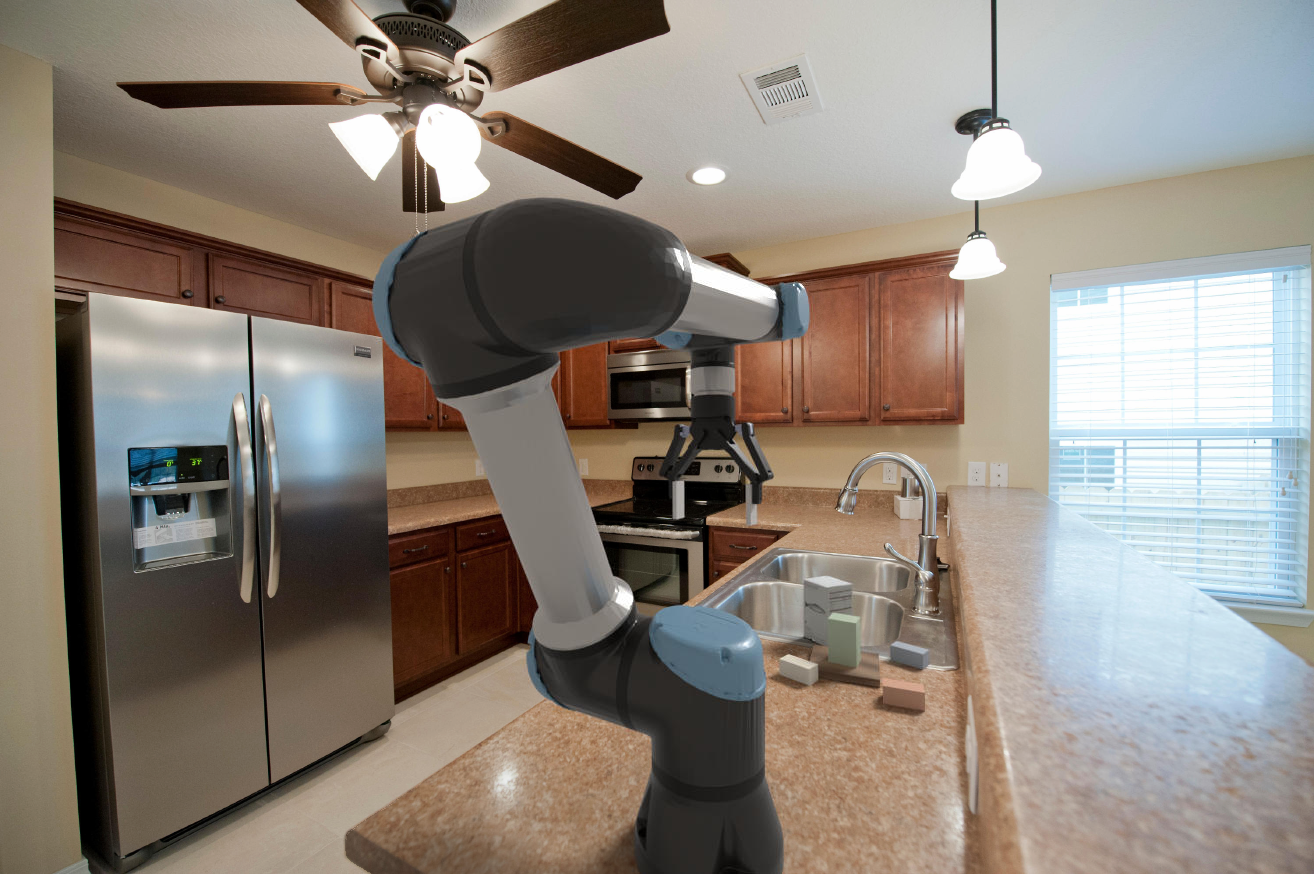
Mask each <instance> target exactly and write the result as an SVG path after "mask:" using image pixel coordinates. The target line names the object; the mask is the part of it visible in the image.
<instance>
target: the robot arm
mask: <svg viewBox="0 0 1314 874" xmlns="http://www.w3.org/2000/svg"><path fill="white" fill-rule="evenodd" d="M371 298H372V300H371V302H372V312H373V314H374V315H373V316H374V321H375V323H376V326H377V329H378V331H379V333H380V335H381V337H382V339H383V340H384V342H385V343H386V345H387V346H388V347H389V349H390V350H391V351H392V352H393V353H394V354H395V355H396V356H398V358H401V359H403V360H405V361H406V362H408V363H409V364H410V365H412V366H414V367H417V368H419V369H422V370H424V371H425V375H426V376H427V379H428V381H429V384H430V386H431V389H432V391H433V394H434V396H435V398H436V401H438V402H439V403H442V404H444V405H447V406H449V407H452V408H453V409H454V410H455V409H456V410H457V411H459V412H460V413H461V415H462V418H463V420H464V423H465V425H466V429H467V430H468V433H469V435H470V438H471V441H472V443H473V445H474V448H475V451H476V452H477V455H478V458H479V460H480V463H481V466H482V468H483V470H484V472H485V475H486V478H487V480H488V483H489V486H490V488H491V491H492V492H493V496H494V497H495V501H496V503H497V506H498V508H499V510H500V513H501V516H502V518H503V520H504V521H503V522H504V523H505V525H506V529H507V530H508V533H509V536H510V538H511V541H512V544H513V546H514V548H515V550H516V553H517V555H518V558H519V560H520V564H521V565H522V568H523V571H524V573H525V575H526V578H527V581H528V583H529V586H530V589H531V591H532V593H533V596H534V598H535V600H536V603H537V607H538V608H537V610H536V611H535V613H534V616H533V620H532V627H531V630H530V631H529V635H528V640H527V644H528V645H530V649H529V650H528V651H526V655H525V656H526V659H525V660H526V668H527V671H528V675H529V679H530V681H531V683H532V684H533V686H534V688H535V689H536V691H537V692H538V693H539V694H540V695H541V696H542V697H544V698H546V699H547V700H548V701H550V702H552V703H554V704H555V705H557V707H558V706H559V707H561V708H562V709H564V710H568V711H572V712H578V713H579V714H583V715H587V716H589V717H592V718H595V719H599V720H601V721H605V722H607V723H611V724H613V725H616V726H620V727H622V728H626V729H629V730H631V731H634V732H638V733H640V734H643V735H646V736H648V737H649V738H650V739H651V741H650V743H651V745H650V748H651V749H650V750H651V751H650V752H651V767H650V768H651V769H650V770H651V771H650V773H649V774H650V775H649V776H648V779H647V783H646V786H645V789H644V794H643V796H642V799H641V802H640V805H639V809H638V812H637V816H636V818H635V819H636V820H635V825H634V857H635V862H636V865H637V868H638V870H639V873H640V874H783V871H784V870H783V869H784V865H785V864H784V863H785V859H784V857H785V856H784V855H785V854H784V853H785V852H784V849H785V848H784V834H783V829H782V825H781V821H780V819H779V816H778V812H777V809H776V806H775V803H774V800H773V796H772V793H771V791H770V788H769V784H768V781H767V777H766V688H767V677H766V676H767V673H766V670H765V665H764V663H765V662H764V660H765V659H764V648H763V643H762V640H761V638H760V636H759V634H757V632H756V631H755V630H754V628H752V626H751V625H750V624H749V623H747V622H746V621H745V620H743V619H742V618H740V617H739V616H736V615H734V614H733V613H729V612H727V611H724V610H721V609H717V608H714V607H713V608H712V607H711V606H710V607H709V606H705V605H695V606H689V605H687V604H681V605H680V604H679V605H672V606H667V607H664V608H662V609H660V610H659V611H657V612H656V613H655V614H654V615H653V616H652V615H647V614H643V613H642V612H640V611H639V610H638V606H637V603H636V600H635V597H634V594H633V591H632V588H631V586H630V585H629V583H628V582H626V581H625V580H623V579H622V578H620V577H618V576H616V575H615V576H614V574H613V572H612V568H611V566H610V564H609V560H608V557H607V553H606V550H605V548H604V544H603V541H602V538H601V536H600V535H601V534H600V532H599V529H598V526H597V523H596V520H595V517H594V514H593V511H592V507H591V504H590V501H589V498H588V496H587V492H586V490H585V489H586V488H585V486H584V483H583V480H582V477H581V473H580V471H579V467H578V464H577V461H576V458H575V455H574V452H573V449H572V446H571V443H570V439H569V437H568V433H567V431H566V427H565V425H564V424H565V423H564V422H563V419H562V414H561V412H560V409H559V406H558V402H557V400H556V397H555V393H554V390H553V388H552V380H553V377H554V376H555V374H556V372H557V370H558V368H559V367H560V365H561V360H560V356H559V353H560V352H564V351H565V352H566V351H569V350H575V349H578V348H583V347H587V346H591V345H597V344H601V343H604V342H611V341H617V340H625V339H639V340H646V339H652V338H653V339H654V340H655V341H656V342H657V343H659V344H660V345H662V346H665V347H666V348H668V349H671V350H672V351H675V350H676V351H679V352H681V353H685V354H688V355H690V356H689V357H690V358H689V359H690V387H689V388H690V390H689V391H690V393H691V394H693V396H692V397H691V398H690V419H691V424H690V425H686V424H675V425H674V427H673V428H674V429H673V431H674V432H673V437H672V440H671V442H670V446H669V448H668V449H667V452H666V453H665V456H664V459H663V461H662V463H661V466H660V469H659V471H658V475H659V477H660V478H664V479H666V480H667V481H668V497H669V500H672V519H673V520H680V519H683V518H685V480H682V478H681V477H683V475H684V473H686V471H687V470H688V468H689V467H690V466H691V464H692V463H693V462H694V460H696V458H697V457H698V455H699V454H701V452H702V451H725V453H727V454H728V455H729V456H730V457H731V459H732V460H733V461H734V462H735V464H736V465H737V466H738V468H739V469H740V470H741V472H742V473H743V474H744V476H745V477H746V478H747V479H748V480H749V483H747V484H745V511H746V512H745V517H746V518H745V519H746V520H745V525H746V526H748V527H751V526H753V525H757V524H758V505H761V504H762V502H763V484H764V482H767V481H770V480H773V479H774V477H775V474H774V473H773V471H772V469H771V466H770V464H769V462H768V460H767V458H766V455H765V454H764V452H763V450H762V448H761V446H760V443H759V442H758V440H757V437H756V432H755V425H754V423H752V422H742V423H740V424H737V423H736V397H735V396H734V395H732V394H734V393H735V392H736V362H735V361H736V358H735V357H736V355H735V354H736V346H741V345H742V346H743V345H751V344H761V343H762V344H763V343H770V342H771V343H772V342H785V341H787V340H788V341H789V340H793V339H794V340H795V339H800V338H802V337H804V336H805V335H806V333H807V332H808V329H809V326H810V316H811V315H810V303H809V296H808V293H807V291H806V289H805V287H804V285H803V284H802V283H800V282H797V281H794V282H787V283H784V282H779V284H772V285H768V284H764V283H762V282H759V281H757V280H754V279H752V278H749V277H748V276H745V275H742V274H740V273H738V272H736V271H733V270H731V269H728V268H726V267H725V266H723V265H722V266H721V265H719V264H717V263H714V262H712V261H710V260H707V259H705V258H704V257H703V258H702V257H700V256H698V255H696V254H693V253H691V252H689V251H688V250H687V247H686V246H685V244H684V243H683V241H682V240H681V239H680V238H679V237H678V236H677V235H676V234H675V233H673V232H672V231H670V230H668V228H664V227H662V226H660V225H658V224H656V223H654V222H652V221H648V220H647V219H645V218H643V217H640V216H636V215H633V214H631V213H629V212H625V211H621V210H618V209H614V208H612V207H611V208H610V207H608V206H604V205H599V204H594V203H590V202H588V201H587V202H585V201H582V200H576V199H570V198H569V199H567V198H561V197H545V196H544V197H540V196H539V197H531V198H530V197H529V198H521V199H519V198H518V199H515V200H512V201H509V202H506V203H504V204H503V203H502V204H501V205H499V206H497V207H495V208H493V209H490V210H486V211H483V212H480V213H478V214H477V213H476V214H474V215H471V216H467V217H464V218H460V219H458V220H456V221H455V220H454V221H452V222H449V223H446V224H443V225H440V226H436V227H433V228H430V229H426V230H423V231H421V232H418V234H417V235H416V236H414V237H411V238H410V239H408V240H406V241H405V242H402V243H401V244H399V245H397V246H396V247H395V248H394V249H392V250H391V251H390V252H389V253H388V255H386V257H385V258H384V259H383V261H382V263H381V264H380V266H379V269H378V272H377V274H376V275H375V277H374V281H373V287H372V295H371ZM737 434H739V436H740V437H742V440H743V442H744V445H745V446H746V448H747V450H748V453H749V455H750V457H751V459H752V461H753V463H754V465H755V466H754V465H753V464H752V462H751V461H750V460H749V459H748V457H747V456H746V455H745V453H744V452H743V451H742V450H741V449H740V446H739V444H738V443H737V442H736V441H735V440H734V438H735V436H736V435H737ZM689 435H691V437H692V440H691V442H689V444H688V445H687V449H686V450H685V451H684V453H683V454H682V455H681V453H682V450H683V448H684V445H685V444H686V440H687V438H688V437H689ZM680 455H681V457H680ZM679 457H680V458H679Z"/></svg>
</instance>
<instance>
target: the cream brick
mask: <svg viewBox="0 0 1314 874" xmlns="http://www.w3.org/2000/svg"><path fill="white" fill-rule="evenodd" d="M778 659H779V660H778V661H779V665H778V666H779V668H778V670H779V671H778V672H779V675H780V676H783V677H785V678H788V679H790V680H794V681H796V682H798V683H801V684H804V685H805V686H808V687H810V686H812V685H813V684H814V683H815V684H816V682H818V681H819V677H818V664H816V663H813V662H810V660H807V659H804V658H800V657H798V656H795V655H792V654H789V653H788V654H786V655H785V656H782V657H780V658H778Z"/></svg>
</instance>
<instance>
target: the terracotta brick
mask: <svg viewBox="0 0 1314 874" xmlns="http://www.w3.org/2000/svg"><path fill="white" fill-rule="evenodd" d="M882 704H884V705H890V706H896V707H901V708H907V709H912V710H918V711H924V712H926V691H925V685H924V684H923V683H916V682H908V681H903V680H898V679H891V678H886V677H882Z"/></svg>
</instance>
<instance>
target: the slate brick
mask: <svg viewBox="0 0 1314 874" xmlns="http://www.w3.org/2000/svg"><path fill="white" fill-rule="evenodd" d="M889 650H890V651H889V653H890V656H889V658H890V659H891V660H890V661H893V662H897V663H901V664H904V665H906V666H909V667H910V666H911V667H914V668H917V669H920V670H924V669H926V668H927V667H929V666H930V649H927V648H924V647H921V646H918V645H917V646H916V645H913V644H910V643H905V642H902V641H898V640H896V641H894V642H893V643H891V644H890V646H889ZM928 665H929V666H928Z"/></svg>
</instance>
